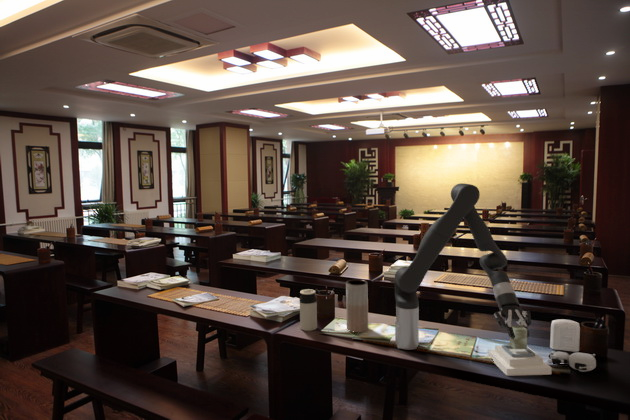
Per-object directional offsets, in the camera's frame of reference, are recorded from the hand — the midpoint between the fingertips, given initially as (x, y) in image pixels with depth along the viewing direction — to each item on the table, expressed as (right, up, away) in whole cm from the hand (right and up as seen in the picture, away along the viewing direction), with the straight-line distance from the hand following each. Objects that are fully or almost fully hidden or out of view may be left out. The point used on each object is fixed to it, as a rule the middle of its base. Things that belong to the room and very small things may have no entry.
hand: (520, 337), depth 153 cm
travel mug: (-79, -9, +45) cm, 91 cm away
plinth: (0, -11, +2) cm, 11 cm away
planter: (-56, -9, +42) cm, 70 cm away
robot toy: (+19, -11, +1) cm, 22 cm away
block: (0, -4, +2) cm, 4 cm away
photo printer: (+25, -9, +14) cm, 31 cm away
